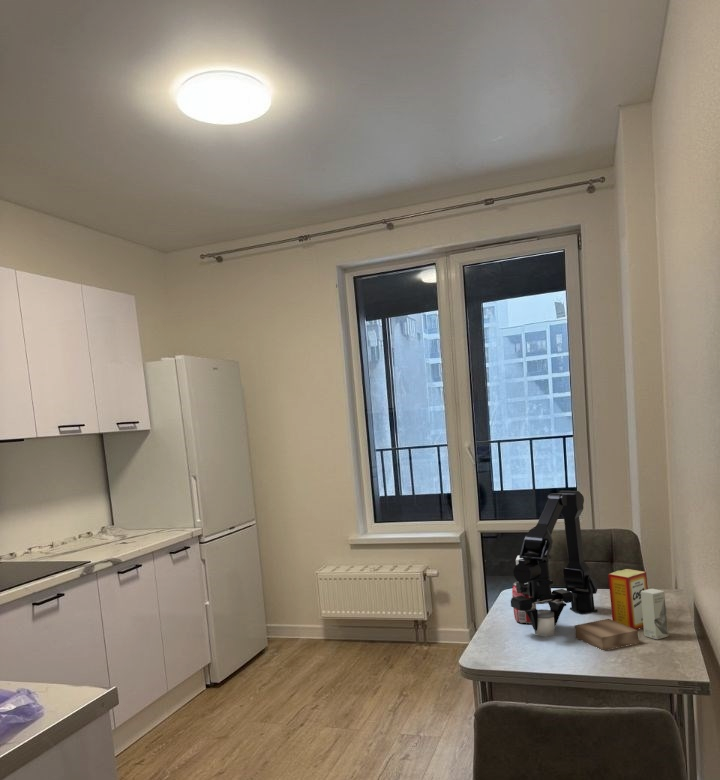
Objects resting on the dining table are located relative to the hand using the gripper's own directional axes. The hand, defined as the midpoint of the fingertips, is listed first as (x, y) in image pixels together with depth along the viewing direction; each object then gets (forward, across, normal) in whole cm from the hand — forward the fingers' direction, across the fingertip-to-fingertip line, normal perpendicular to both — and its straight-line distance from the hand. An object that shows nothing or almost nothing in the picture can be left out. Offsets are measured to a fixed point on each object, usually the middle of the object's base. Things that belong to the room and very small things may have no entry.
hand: (544, 628), depth 191 cm
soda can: (+2, -1, -12) cm, 12 cm away
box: (+1, -25, +18) cm, 31 cm away
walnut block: (+2, -11, +14) cm, 18 cm away
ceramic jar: (+1, 0, 0) cm, 1 cm away
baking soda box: (+2, -26, +7) cm, 27 cm away
